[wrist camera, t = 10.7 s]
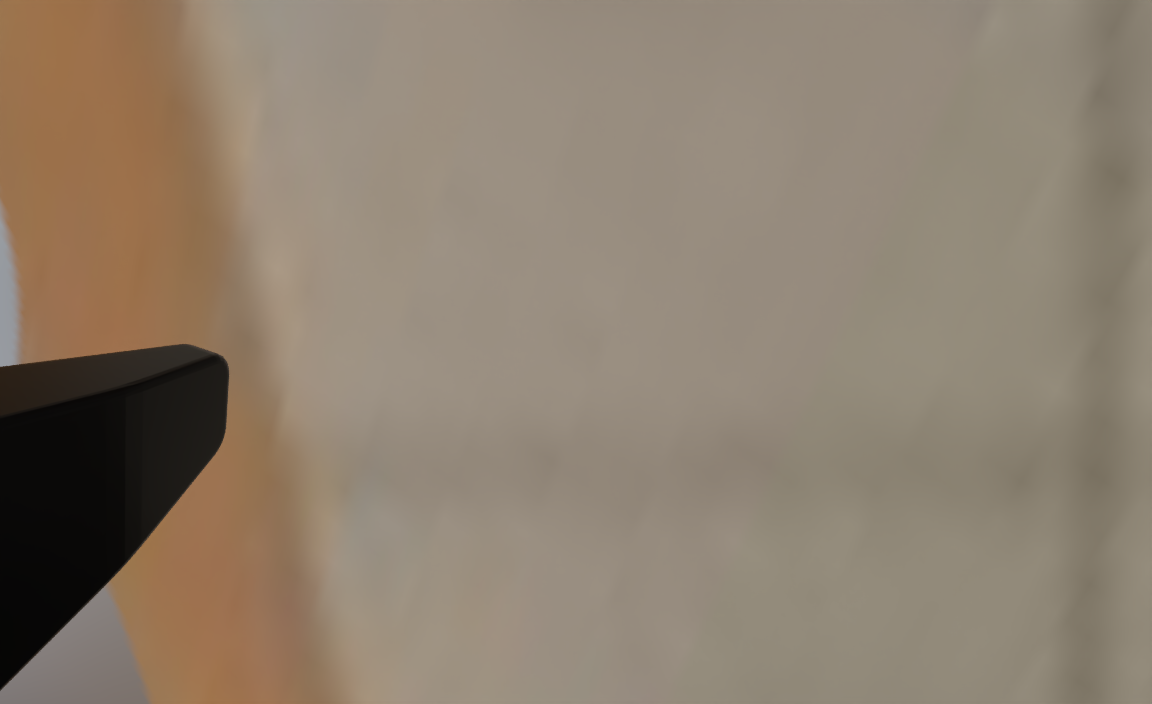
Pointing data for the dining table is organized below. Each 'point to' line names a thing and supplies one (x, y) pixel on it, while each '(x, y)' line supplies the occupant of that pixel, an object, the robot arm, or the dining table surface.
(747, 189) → the dining table surface
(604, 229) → the dining table surface
